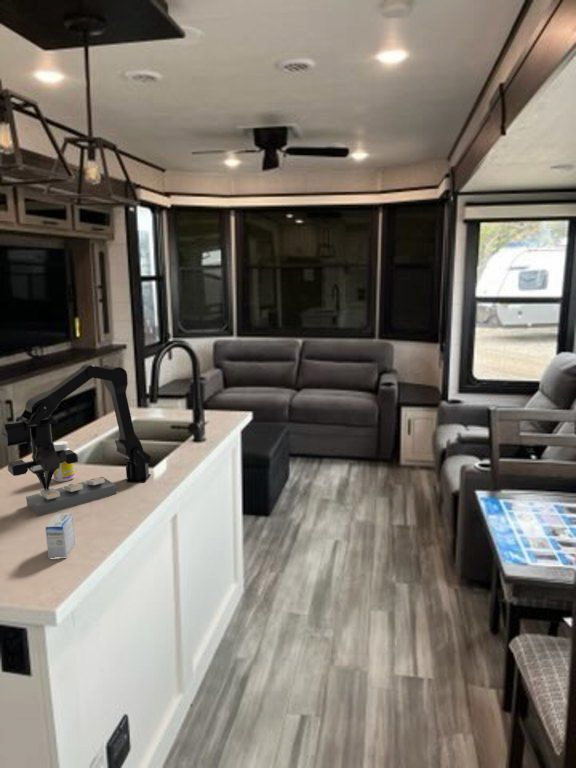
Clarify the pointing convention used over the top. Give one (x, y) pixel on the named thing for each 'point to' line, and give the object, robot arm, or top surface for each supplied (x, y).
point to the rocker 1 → (50, 493)
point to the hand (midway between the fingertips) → (46, 489)
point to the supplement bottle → (63, 464)
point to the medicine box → (60, 535)
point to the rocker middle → (73, 487)
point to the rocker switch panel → (70, 497)
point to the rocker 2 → (95, 481)
